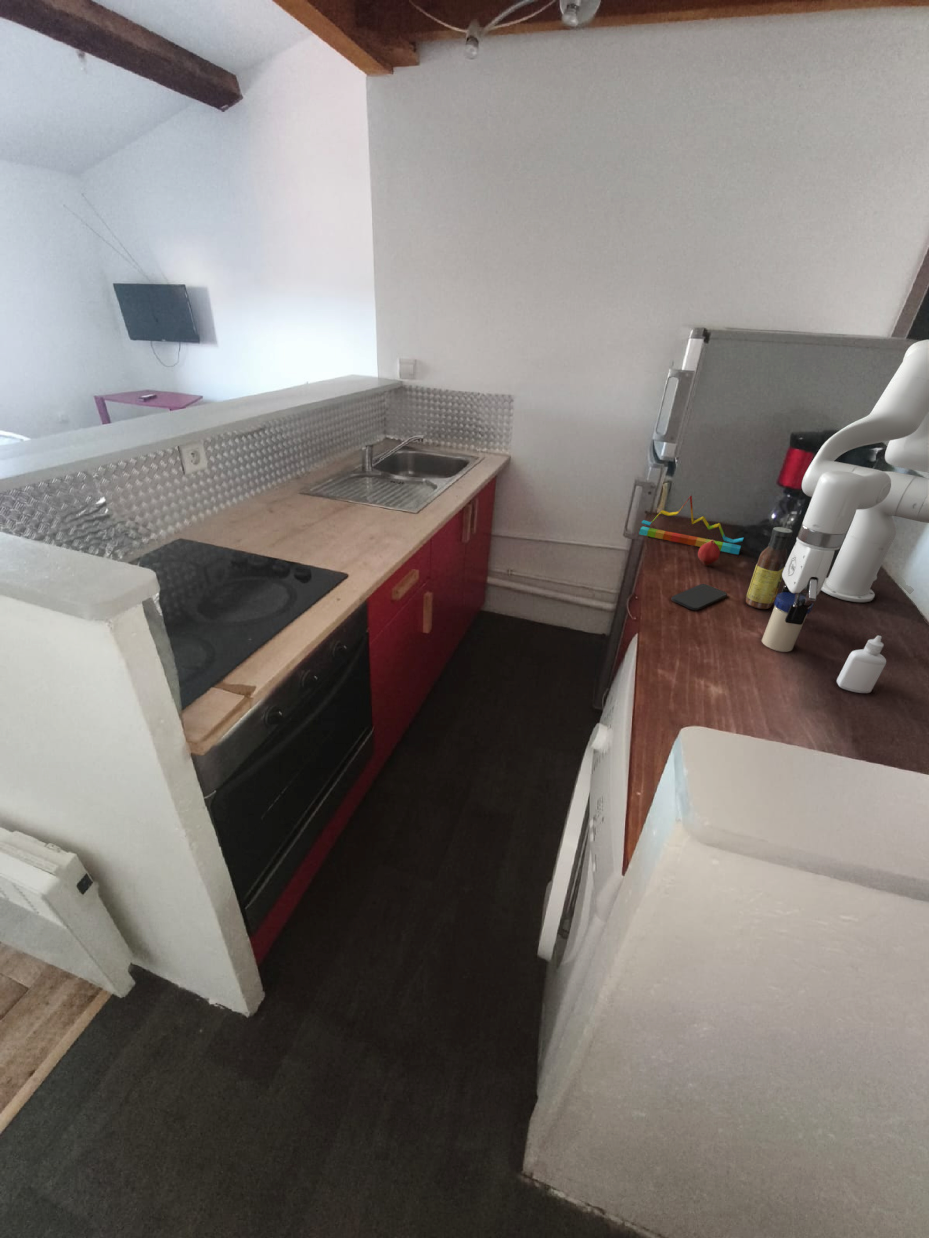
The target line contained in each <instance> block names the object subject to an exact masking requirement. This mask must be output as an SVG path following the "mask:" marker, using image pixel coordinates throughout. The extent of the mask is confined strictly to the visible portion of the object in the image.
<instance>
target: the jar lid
mask: <svg viewBox="0 0 929 1238" xmlns="http://www.w3.org/2000/svg"><path fill="white" fill-rule="evenodd" d="M795 595H796V593H790V592H782V591H781V592H779V593H777V594H776V597H775V600H774V602H773V605H774V606H776V607H777V608H778V609H780V610H782V611H784V612H787V613H788V611H789V609H790V606H791V605H793V604H794V599H795ZM805 597H806V596H802V595H800V600H801V599H805ZM800 600H799V601H800ZM813 606H814V603H812V605H811V607H810V609H809V610H808V612H807V615H809V614H810V613H811V612H812V609H813Z"/></svg>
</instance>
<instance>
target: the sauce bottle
mask: <svg viewBox="0 0 929 1238" xmlns="http://www.w3.org/2000/svg"><path fill="white" fill-rule="evenodd" d="M792 535H793V530H792V529H790V528H787V527H784V526H783V527H782V526H776V527H773V528H772V531H771V537H770V540H769V542H768V546H766V548H764V550H762V551H761V553H760V555H759V557H758V559H757V562H756V565H755V568H754V571H753V573H752V577H751V580H750V583H749V587H748V590H747V593H746V597H745V603H746V604H747V605H748V606H750V607H752V608H755V609H757V610H758V609H760V610H768V609H770V608H771V607H772V606H773V604H774V603H775V602H774V601H775V599H776V597H777V595H778V592H779V589H780V586H781V583H782V580H783V577H782V572H783V570H784V568H785V565H786V563H787V561H788V544H789V541H790V539H791V537H792Z"/></svg>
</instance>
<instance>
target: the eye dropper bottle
mask: <svg viewBox="0 0 929 1238" xmlns="http://www.w3.org/2000/svg"><path fill="white" fill-rule="evenodd" d="M883 648H884V643H883V641H882V636H881V635H876V636H875V637H874V638H871V639H868V640H867V641H866V644H865V646H864V647H863V648H862V649H855V650H852V651H850V653H849V655H848V657H847V658H846V660H845V663H844V664H843V666H842V668H841V671H840V672H839V675H838V676H837V678H836V684H837V685H838V687H839V688H841V689H842V690H845V691H849V692H852V693H857V694H870V693H871V692H872V690H873V689H874V687H875V685H876V683H877V682H878V680H879V678H880V676H881V674H882V673H883V670H884V668H885V667H886V664H887V659H886V658H885V656H884V655H882V653H881V652H882V650H883Z"/></svg>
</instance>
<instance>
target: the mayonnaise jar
mask: <svg viewBox="0 0 929 1238" xmlns="http://www.w3.org/2000/svg"><path fill="white" fill-rule="evenodd" d="M787 614H788V613H787V612H784V611H782V610H780V609H778V608H777V607H776V606H775V605H774V606H773V609H772V612H771V615H770V617H769V619H768V622H767V625H766V627H765V631H764V633H763V635H762V637H761V643H762V644H763V645H764V646H765V647H767V648H769V649H771V650H773V651H777V652H782V653H787V652H791V651H793V649H794V647H795V645H796V643H797V640H798V637H799V636H800V633H801V631H802V629H803V626H804V624H805V621H806V619H807V616H808V614H806V617H805V619H804V621H803V624H802V625H798V624H792V623H786V622H785V619H786V616H787Z"/></svg>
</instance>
